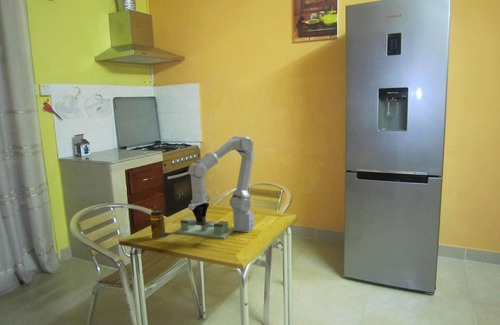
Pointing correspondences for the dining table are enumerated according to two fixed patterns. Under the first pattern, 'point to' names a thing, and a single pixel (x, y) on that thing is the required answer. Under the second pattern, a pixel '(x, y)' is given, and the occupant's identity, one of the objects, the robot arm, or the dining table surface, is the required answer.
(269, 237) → the dining table surface
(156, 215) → the condiment
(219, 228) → the display stand
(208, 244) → the dining table surface
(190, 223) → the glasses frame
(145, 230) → the dining table surface
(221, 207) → the dining table surface
